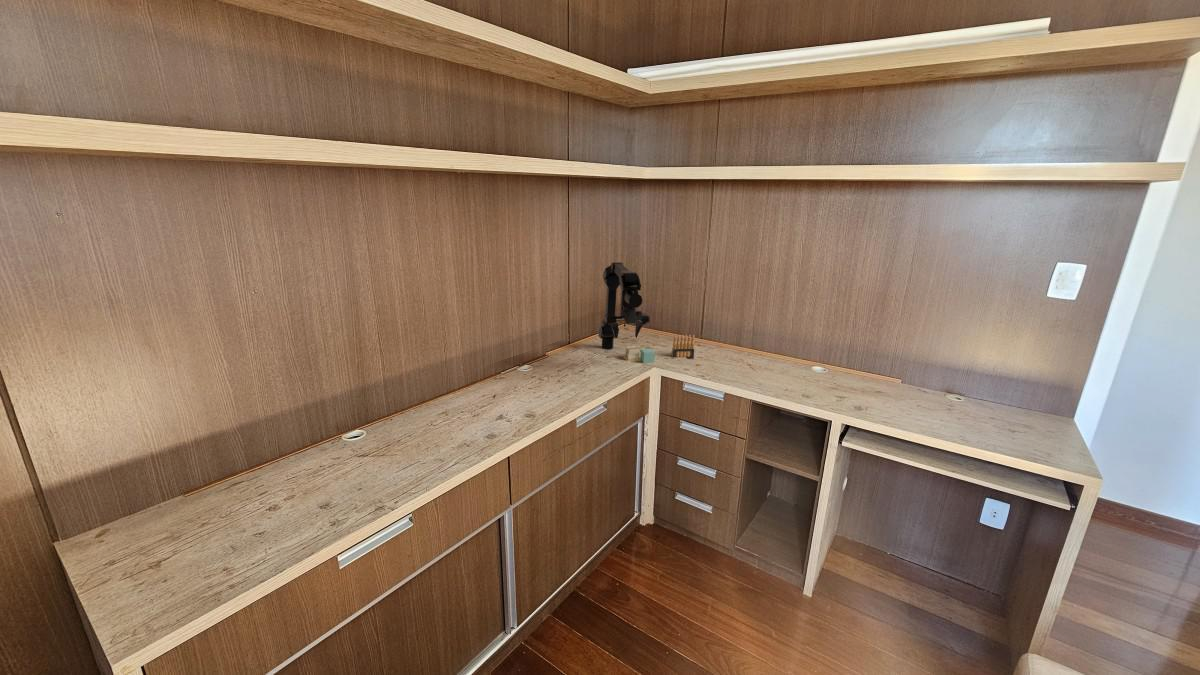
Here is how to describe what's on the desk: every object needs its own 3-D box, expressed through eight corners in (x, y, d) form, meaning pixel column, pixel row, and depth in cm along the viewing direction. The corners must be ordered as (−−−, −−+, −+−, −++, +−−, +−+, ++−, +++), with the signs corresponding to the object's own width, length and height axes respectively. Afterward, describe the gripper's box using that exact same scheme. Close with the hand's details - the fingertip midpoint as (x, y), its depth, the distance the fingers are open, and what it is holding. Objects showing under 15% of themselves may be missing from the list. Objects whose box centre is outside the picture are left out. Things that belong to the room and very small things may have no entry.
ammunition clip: (672, 359, 234) (674, 335, 230) (670, 358, 236) (673, 334, 232) (693, 358, 236) (696, 334, 232) (692, 357, 238) (694, 333, 234)
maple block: (625, 357, 231) (625, 346, 230) (635, 356, 232) (636, 346, 231) (628, 360, 227) (629, 350, 225) (638, 360, 228) (639, 349, 226)
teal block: (640, 359, 229) (640, 349, 227) (650, 359, 230) (651, 348, 229) (643, 363, 224) (644, 352, 223) (654, 362, 225) (655, 352, 224)
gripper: (610, 307, 200) (609, 343, 205) (654, 306, 204) (652, 342, 209) (604, 300, 211) (603, 336, 215) (646, 300, 215) (644, 334, 219)
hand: (625, 337), depth 214 cm, fingers open, 9 cm apart
